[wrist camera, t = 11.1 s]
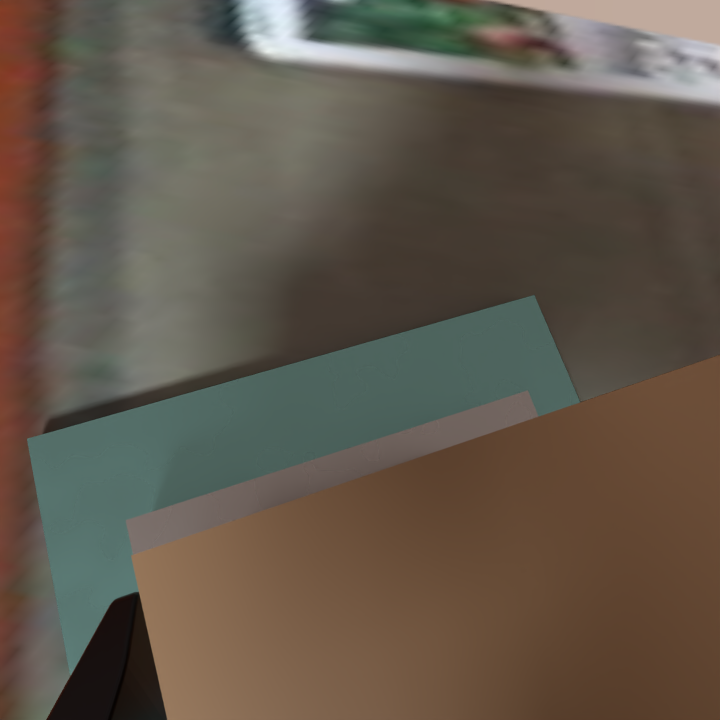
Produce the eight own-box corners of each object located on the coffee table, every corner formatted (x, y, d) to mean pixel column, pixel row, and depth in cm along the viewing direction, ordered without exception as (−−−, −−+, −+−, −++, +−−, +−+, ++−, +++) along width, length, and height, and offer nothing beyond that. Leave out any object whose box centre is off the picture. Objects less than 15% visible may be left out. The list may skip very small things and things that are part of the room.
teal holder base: (525, 302, 21) (567, 266, 17) (658, 618, 18) (736, 641, 15) (38, 441, 17) (-19, 427, 14) (116, 857, 15) (67, 955, 11)
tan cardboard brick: (428, 458, 18) (742, 346, 5) (460, 547, 17) (905, 659, 5) (253, 518, 17) (132, 554, 4) (280, 616, 16) (232, 1011, 3)
